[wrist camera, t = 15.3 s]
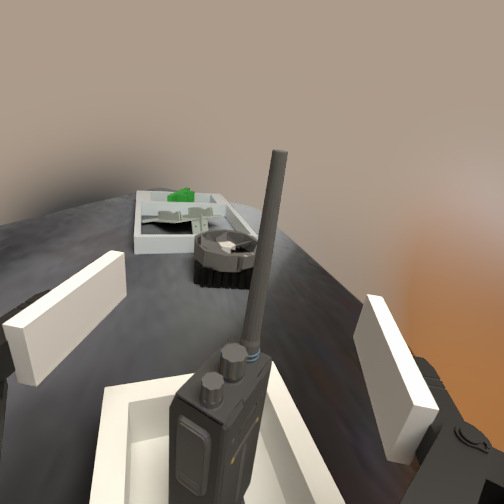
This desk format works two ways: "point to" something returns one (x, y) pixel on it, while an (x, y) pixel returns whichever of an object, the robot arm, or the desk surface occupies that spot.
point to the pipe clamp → (181, 196)
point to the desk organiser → (158, 202)
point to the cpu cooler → (224, 258)
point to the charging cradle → (157, 449)
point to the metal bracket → (187, 218)
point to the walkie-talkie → (227, 391)
